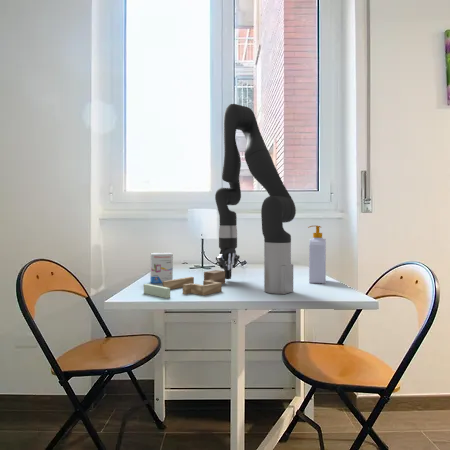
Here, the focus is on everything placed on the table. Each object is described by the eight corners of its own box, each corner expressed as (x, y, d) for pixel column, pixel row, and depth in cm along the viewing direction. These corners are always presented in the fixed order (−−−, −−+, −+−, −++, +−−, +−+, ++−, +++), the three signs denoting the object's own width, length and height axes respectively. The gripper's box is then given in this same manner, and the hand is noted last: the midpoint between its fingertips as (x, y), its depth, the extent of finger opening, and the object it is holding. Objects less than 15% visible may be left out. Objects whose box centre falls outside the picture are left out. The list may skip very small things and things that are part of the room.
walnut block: (225, 283, 139) (225, 271, 139) (213, 286, 134) (213, 273, 134) (215, 282, 142) (215, 270, 142) (203, 284, 137) (203, 271, 137)
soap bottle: (308, 279, 149) (308, 225, 148) (325, 280, 147) (325, 225, 146) (307, 283, 140) (307, 225, 140) (325, 284, 138) (325, 225, 138)
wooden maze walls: (226, 290, 125) (226, 281, 125) (198, 296, 114) (198, 287, 114) (191, 284, 137) (191, 276, 137) (162, 289, 126) (162, 281, 126)
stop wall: (170, 297, 113) (170, 288, 113) (166, 298, 112) (166, 288, 112) (147, 292, 121) (147, 283, 121) (143, 293, 120) (143, 284, 120)
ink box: (151, 283, 139) (151, 253, 138) (150, 281, 143) (150, 252, 143) (172, 282, 141) (172, 253, 141) (171, 280, 146) (171, 252, 146)
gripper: (224, 237, 137) (224, 282, 137) (245, 236, 146) (245, 278, 147) (210, 236, 141) (210, 279, 142) (231, 236, 151) (231, 276, 152)
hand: (227, 278), depth 144 cm, fingers closed
